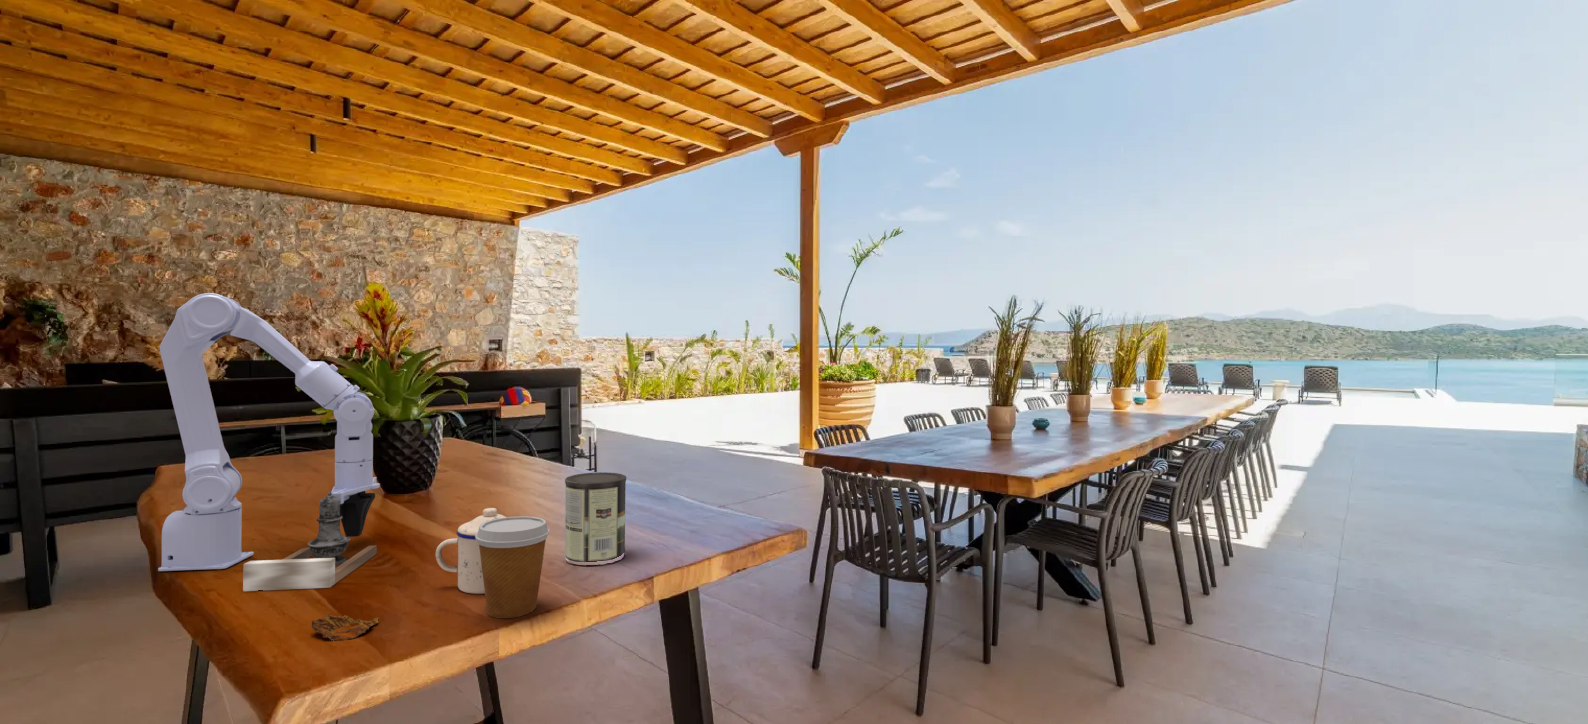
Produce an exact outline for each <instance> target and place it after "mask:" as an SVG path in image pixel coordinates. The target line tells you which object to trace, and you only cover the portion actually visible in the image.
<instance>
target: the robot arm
mask: <svg viewBox="0 0 1588 724" xmlns="http://www.w3.org/2000/svg"><path fill="white" fill-rule="evenodd" d="M228 334H229V335H230V336H232V337H235V338H240V339H244V340H248V341H251V342H253V343H255V344H256V345H257V346H258V347H260V348H261V349H263V350H264V351H265V352H267V353H268V354H269V355H271V356H272V357H273V358H274V359H276V360H277V361H278V362H279V363H281V364H282V365H283V366H284V367H286V368H287V369H289V370H290V372H293V373H294V375H295V377H294V378H295V379H294V384H295V386H296V387H297V388H299V389H300V390H302V392H304V393H305V394H306V395H308V396H309V397H310V398H312V400H314V401H315V402H316V403H318V404H319V405H320V406H321V407H322V408H323V409H325V410H331V411H333V416H334V418H335V421H336V434H335V437H334V486H333V487H332V490H331V493H332V494H331V495H332V496H335V497H337V498H339V500H340V516H342V519H341V520H340V523H341V525H342V529H343V531H344V534H345V535H344V536H345V537H349V538H351V537H360V536H361V535H362V533H363V530H364V527H365V523H366V519H367V516H368V512H369V509H370V508H371V506H372V504H373V502H374V500H375V499H376V493H374V492H366V491H370V490H377V489H378V488H380V487H381V483H379V482H377V478H378V477H377V476H375V477H374V469H373V467H374V465H373V464H374V463H373V462H374V459H373V458H374V435H373V433H372V430H373V423H372V419H373V417H374V414H375V410H374V406H373V403H372V400H371V399H370V398H369V397H368V395H367V394H365V392H364V393H363V392H360V391H359V390H361V389H360V388H361V387H359V386H358V385H357V384H354V385H353V384H351V383H350V381H348V380H347V379H345V378H344V376H342V375H341V374H339V372H338V370H339V368H338V367H337V366H336V365H334V364H333V363H331V364H330V365H329V364H328V363H327V362H325V361H322V360H320V361H319V360H318V361H314V360H310V359H309V358H308V357H307V356H306V355H304V354H303V353H302V352H301V351H300V350H299V349H298V348H297V347H295V345H293V343H291V342H290V341H289V340H288V339H287V338H285V337H284V336H283V335H282V334H281V333H279V331H277V330H276V329H275V328H274V326H272V325H270V323H268V322H267V321H266V320H265V319H263V318H261V317H260V316H258V315H257V314H255V313H254V312H252V311H251V310H249V309H247V308H244V307H242V306H241V304H240V303H239V302H238V301H236V300H234V299H232V298H230V297H227V296H224V295H221V294H219V293H212V292H205V293H200V294H197V295H195V296H193V297H192V298H190V299H189V300H188V301H186V303H184V304H183V305H181V306H180V307H179V308H178V309H176V312H175V317H174V318H173V321H172V322H171V324H170V326H169V328H168V330H167V331H166V333H165V335H164V337H163V339H162V341H161V343H160V344H159V352H160V353H159V354H160V357H161V361H162V364H163V365H162V366H163V369H164V373H165V377H166V381H167V385H168V389H169V394H170V396H171V402H172V405H173V410H174V414H175V417H176V421H177V425H178V426H177V427H178V430H179V434H180V438H181V442H182V447H183V450H184V454H185V463H184V474H185V483H184V487H183V489H182V500H183V502H184V503H185V505H186V506H185V507H184V508H183V510H175V511H173V512H171V513H170V514H169V515H168V516H167V517H165V520H164V523H163V524H162V529H161V566H159V567H158V568H157V571H158V572H172V571H174V572H175V571H193V570H194V571H196V570H197V571H199V570H200V571H201V570H222V569H223V570H224V569H228V568H229V567H231V566H234V565H235V564H237V563H240V562H241V561H243V560H245V559H248V558H249V557H252V556H253V555H254V554H255V553H254V551H242V522H243V521H242V520H243V519H242V511H243V510H242V507H243V505H242V504H243V503H242V502H241V501H239V500H238V498H237V497H236V495H237V494H238V492H239V491H240V490H241V488H242V485H243V478H242V477H243V476H242V475H241V473H240V472H239V470H238V469H237V468H236V467H234V466H233V464H232V462H231V459H230V458H231V457H230V456H229V453H228V452H227V450H226V447H225V445H224V441H223V436H222V434H221V429H220V424H219V420H218V417H217V411H216V408H215V403H214V399H213V396H212V391H211V388H210V387H211V385H210V381H209V378H208V375H207V370H206V365H205V362H204V357H203V355H204V353H205V352H206V351H207V350H209V349H210V348H211V347H212V346H213V345H214V344H215V343H216V342H217V341H218V340H219V339H221V338H223V337H224V336H227V335H228Z"/></svg>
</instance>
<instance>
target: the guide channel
mask: <svg viewBox="0 0 1588 724" xmlns="http://www.w3.org/2000/svg"><path fill="white" fill-rule="evenodd" d="M377 546H378V545H377V544H376V545H367V546H366V547H365V548H363V549H362V550H360V551H358V552H357V553H356V554H355V555H353V556H352V557H350V558H348V560H347V561H346V562H344V563H343V564H341V565H337V566H335V558H318V557H315V558H314V557H313V558H311V557H312V553H311V551H310V547H303V548H300V549H299V550H296V552H294V553H293V552H292V553H291V554H289V555H287V556H286V557H284V558H283V559H265V560H263V559H262V560H249V561H247V562H244V563H243V564H242V566H243V569H242V573H243V574H242V584H243V585H242V591H243V592H257V591H258V590H263V591H278V590H279V591H282V590H283V591H284V590H305V589H307V590H308V589H326V588H327V589H328V588H332V587H333V586H334V585H335V584H337V583H338V582H340V581H341V580H343V579H345V578H346V577H347V576H348V575H349V574H351V573H352V572H353V571H355V570H356V569H358V568H359V567H361V565H363V564H365V563H367V562H368V561H369V560H370V559H371V558H373V557H375V556H376V555H377V554H378V548H377ZM258 592H259V591H258Z"/></svg>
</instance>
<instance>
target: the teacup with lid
mask: <svg viewBox="0 0 1588 724" xmlns="http://www.w3.org/2000/svg"><path fill="white" fill-rule="evenodd" d="M506 517H507V516H505V515H503V514H499V513H498V510H497V508H496V507H487V508H484V509H483V510H482V515H479V516H477V517H475V518H473V519H472V520H470V521H468V522H465V523H463V524H461V525H459V527H458V529H457V531H456V535H457V536H458V538H457V537H456V538H454V537H453V538H448V539H445V540H443V541H441V543H440V544H438V546H437V547H436V550H435V559H436V562H437V564H438V565H439V567H440V568H441V569H442V570H444V571H446V572H451V573H457V588H458V589H459V591H461V592H463V593H466V594H467V593H468V594H473V595H479V594H480V595H481V594H483V595H485V589H484V581H483V573H482V565H481V556H480V549H479V544H478V543H477V540H476V539H475V535H476V534H477V533H478V529H479V526H480V525H481V524H482V523H484V522H487V521H490V520H494V519H499V518H506ZM449 545H457V546H458V547H457V550H458V552H457V557H458V558H457V560H458V561H457V566H456V565H450V564H448V563H447V562H446V561H445V560H444V558H443V555H442V553H443V552H442V550H443V548H444V547H445V546H449Z"/></svg>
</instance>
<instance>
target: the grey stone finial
mask: <svg viewBox="0 0 1588 724" xmlns="http://www.w3.org/2000/svg"><path fill="white" fill-rule="evenodd" d="M331 492H332V490H329V491H328V492H327V495H326V496H325V497H323V498H321V499H320V500H319V506H318V507H319V511H318V513H319V514H318V518H317V519H316V521H317V522H318V532H317V536H316V538H315V539H313V540H311V541H309V542H308V543H307V546H308V547H309V548H310V551H311V555H313V556H314V557H315V558H335V567H338V566H340V565H341V564H343V563H344V562H346V561H347V560H349V558H347V557H346V556H342V555H343V554H344V552H346V550H347V548H348V546H349V542H350V541H351V537H346V536H345V535H343V534H342V531H341V519H342V516H340V500H339V498H337V497H335V496H332V495H331V494H332V493H331Z"/></svg>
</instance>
